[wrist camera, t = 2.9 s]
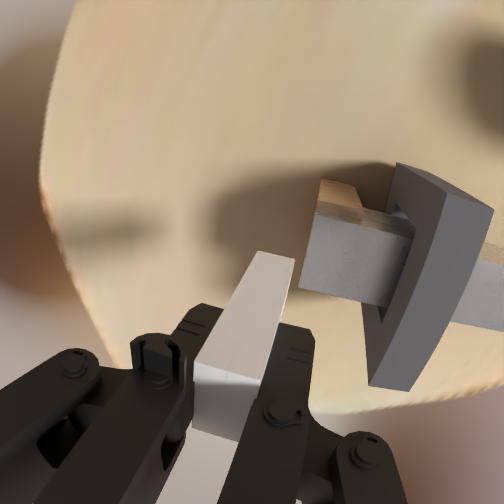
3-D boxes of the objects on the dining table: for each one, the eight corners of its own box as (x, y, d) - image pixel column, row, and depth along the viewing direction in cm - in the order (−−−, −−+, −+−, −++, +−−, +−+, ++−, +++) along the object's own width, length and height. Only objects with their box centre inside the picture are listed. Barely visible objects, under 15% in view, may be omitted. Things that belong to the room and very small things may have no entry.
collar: (396, 162, 19) (447, 192, 10) (427, 171, 19) (494, 209, 10) (359, 291, 23) (368, 385, 14) (387, 297, 23) (408, 391, 14)
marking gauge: (321, 178, 22) (317, 205, 14) (558, 254, 18) (606, 296, 11) (307, 242, 24) (295, 296, 16) (538, 301, 20) (577, 352, 13)
